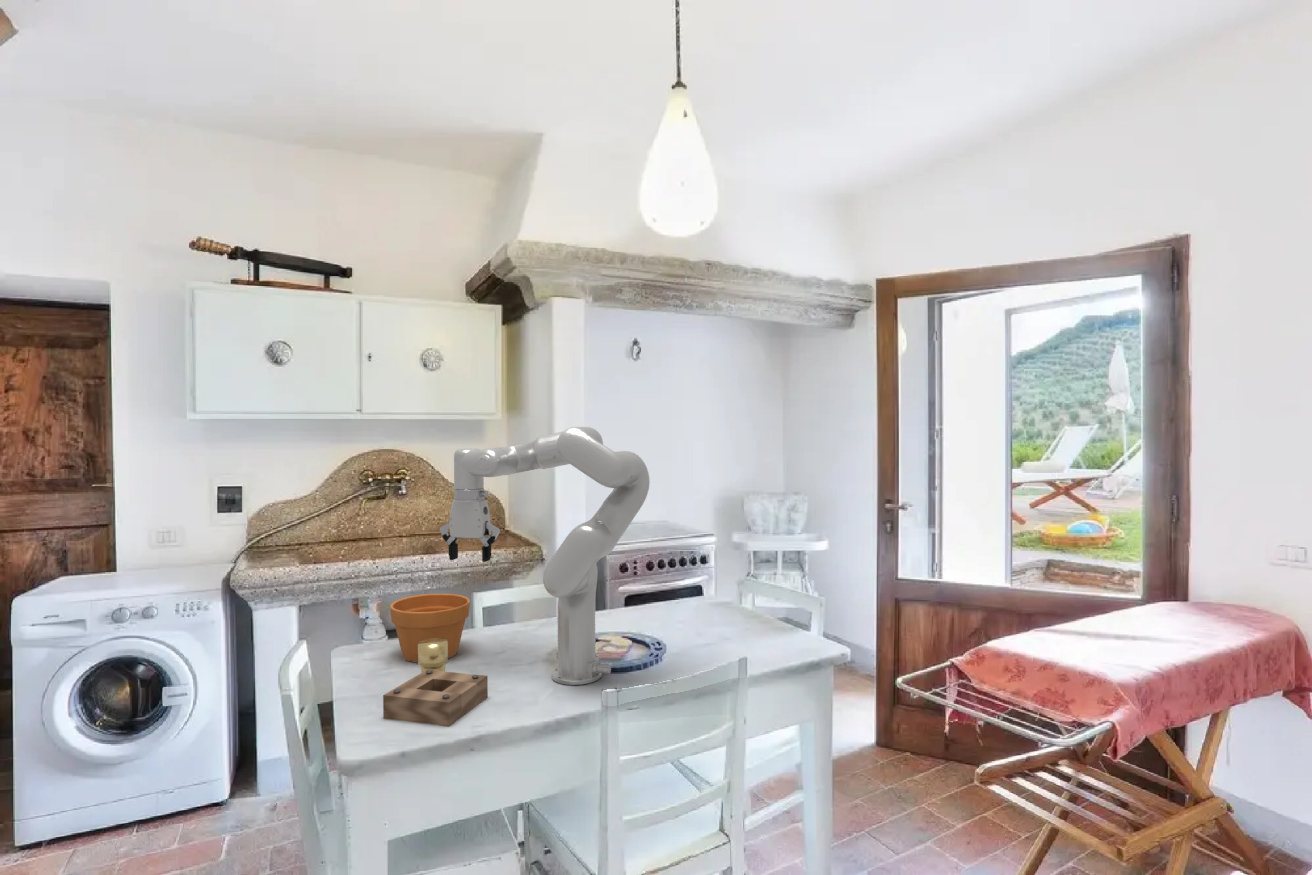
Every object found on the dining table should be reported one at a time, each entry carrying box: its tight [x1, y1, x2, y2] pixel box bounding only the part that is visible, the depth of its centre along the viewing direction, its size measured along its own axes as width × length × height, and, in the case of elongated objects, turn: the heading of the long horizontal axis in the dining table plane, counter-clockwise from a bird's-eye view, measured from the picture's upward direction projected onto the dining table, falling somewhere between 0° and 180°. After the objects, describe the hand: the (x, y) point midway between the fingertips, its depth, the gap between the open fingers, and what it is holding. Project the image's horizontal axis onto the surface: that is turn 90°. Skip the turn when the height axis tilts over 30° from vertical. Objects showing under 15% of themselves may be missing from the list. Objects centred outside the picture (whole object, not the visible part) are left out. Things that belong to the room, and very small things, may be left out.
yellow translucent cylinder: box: [417, 638, 449, 673], centre depth 172 cm, size 7×7×10 cm
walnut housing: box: [382, 670, 489, 727], centre depth 154 cm, size 16×16×6 cm
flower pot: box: [389, 593, 471, 663], centre depth 193 cm, size 21×21×15 cm
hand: (469, 560), depth 183 cm, fingers open, 9 cm apart
